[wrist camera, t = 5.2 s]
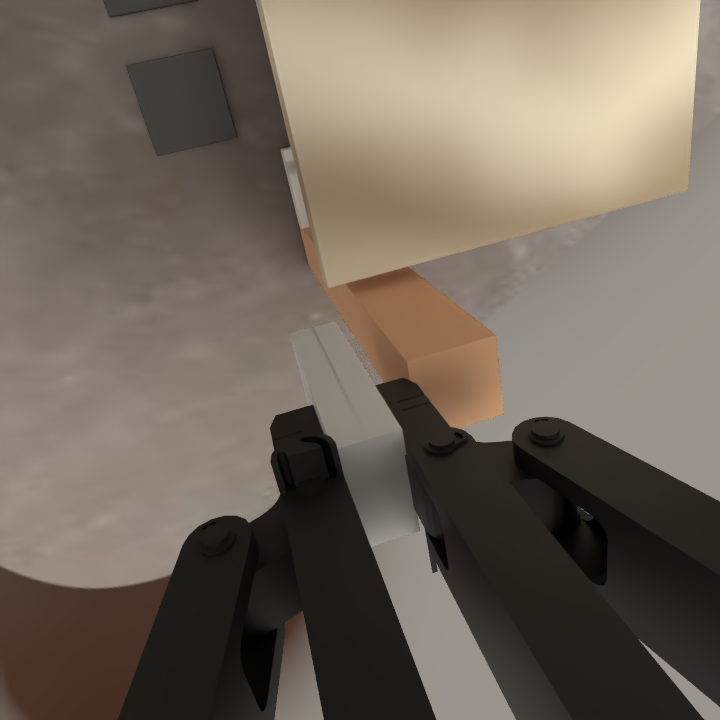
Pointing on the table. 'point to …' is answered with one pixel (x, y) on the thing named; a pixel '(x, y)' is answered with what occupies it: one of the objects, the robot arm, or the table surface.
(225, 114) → the plate
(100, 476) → the table surface
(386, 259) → the small wooden stool
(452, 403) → the sled
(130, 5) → the plate
